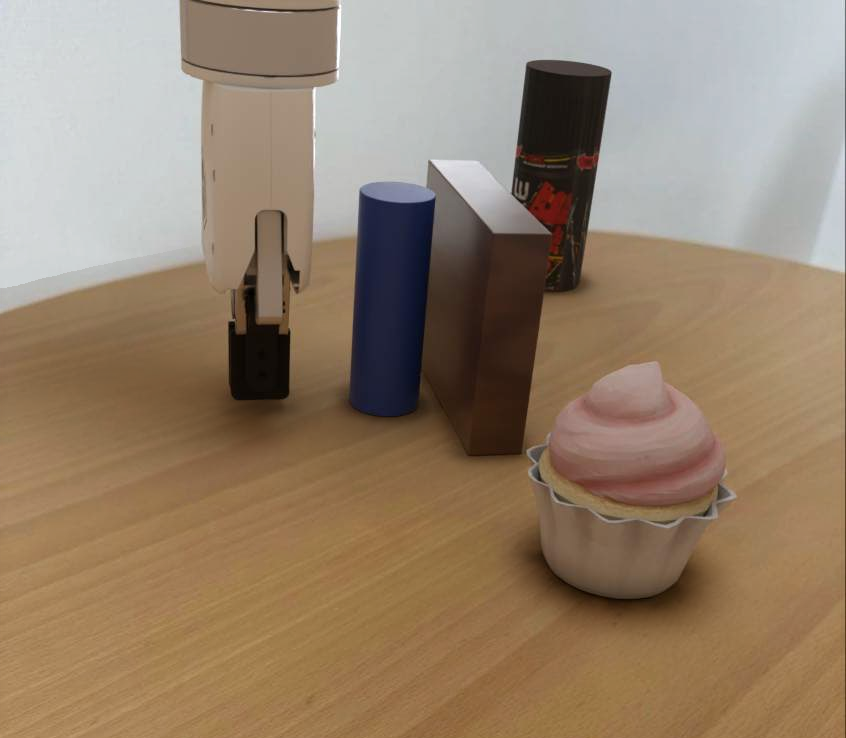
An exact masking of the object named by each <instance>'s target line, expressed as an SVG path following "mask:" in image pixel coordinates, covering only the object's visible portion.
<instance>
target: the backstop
mask: <svg viewBox="0 0 846 738" xmlns="http://www.w3.org/2000/svg"><path fill="white" fill-rule="evenodd" d="M426 173H427V174H426V186H425V188H428V189H430V190H432V191H433V192H434V193H435V194H436V200H435V212H434V224H433V236H432V248H431V260H430V272H429V284H428V295H427V307H426V319H425V331H424V343H423V355H422V367H421V371H423V374H424V376H425V377H426V379H427V381H428V383H429V384H430V386H431V388H432V390H433V392H434V394H435V396H436V397H437V399H438V401H439V403H440V404H441V407H442V408H443V410H444V413H445V414H446V415H447V417H448V419H449V421H450V423H451V425H452V426H453V428H454V431H455V432H456V434H457V436H458V438H459V440H460V441H461V443H462V445H463V447H464V449H465V450H466V453H467V454H468V456H478V455H479V456H486V455H487V456H488V455H513V454H514V455H515V454H518V455H519V454H522V453H523V449H524V448H523V447H524V439H525V433H526V427H527V417H528V412H529V411H528V410H529V404H530V397H531V389H532V381H533V376H534V370H535V369H534V368H535V361H536V354H537V346H538V340H539V334H540V333H539V332H540V327H541V317H542V310H543V303H544V298H545V297H544V296H545V291H544V290H545V283H546V276H547V268H548V261H549V254H550V247H551V240H552V234H551V233H550V232H549V231H548V230H547V229H546V228H545V227H544V226H543V225H542V224H541V223H540V222H539V221H538V220H537V219H536V218H535V217H534V216H533V215H532V214H531V213H530V212H529V211H528V210H527V209H526V208H525V207H524V206H523V205H522V204H521V203H520V202H519V201H518V200H517V199H516V198H515V197H514V196H513V195H512V194H511V192H510V191H509V190H508V189H507V188H506V187H505V186H504V185H503V184H502V183H501V182H500V181H499V180H498V179H497V178H496V177H495V176H494V175H493V174H492V173H491V172H489V170H488V169H487V168H485V166H484V165H483V164H482V163H480V161H478V160H466V159H465V160H463V159H428V161H427V172H426Z"/></svg>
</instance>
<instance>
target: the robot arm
mask: <svg viewBox="0 0 846 738" xmlns="http://www.w3.org/2000/svg"><path fill="white" fill-rule="evenodd" d="M178 1H179V2H178V4H179V32H180V34H179V35H180V36H179V37H180V69H181V71H182V72H183V74H185V75H189V76H190V77H191V78H194V79H198V80H201V81H202V86H201V87H202V88H201V109H200V110H201V114H200V115H201V118H200V151H201V152H200V164H201V166H200V167H201V169H200V170H201V174H200V175H201V246H202V252H203V253H202V254H203V258H204V265H205V269H206V272H207V277H208V282H209V285H210V287H211V288H212V289H213V290H214V291H215V292H216V293H218V294H220V295H225V294H226V290H230V307H231V308H230V310H231V318H232V321H231V320H228V321H227V328H228V329H227V334H228V335H227V336H228V337H227V339H228V340H227V341H228V342H227V343H228V349H227V351H228V356H227V357H228V386H229V389H230V395H231V398H232V399H233V400H235V401H274V400H275V401H276V400H278V401H279V400H285V399H287V398H288V397H289V396H290V379H291V378H290V377H291V375H290V373H291V332H292V331H291V330H290V326H289V325H290V324H289V323H290V301H291V300H290V299H291V285H292V289H293V290H294V292H295V294H297V295H298V294H301V293H302V292H304V290H305V289H306V288H308V286H309V284H310V281H311V280H310V278H311V269H312V255H313V237H314V211H315V178H316V177H315V175H316V173H315V170H316V136H317V131H316V88H321V87H326V86H330V85H333V84H336V82H338V81H339V73H340V72H339V71H340V67H339V65H340V47H341V46H340V44H341V42H340V41H341V21H342V20H341V19H342V17H341V16H342V4H341V3H342V0H178Z"/></svg>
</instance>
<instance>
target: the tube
mask: <svg viewBox="0 0 846 738" xmlns="http://www.w3.org/2000/svg"><path fill="white" fill-rule="evenodd" d="M435 200H436V194H435V193H434V192H433V191H432V190H430V189H428V188H426V186H422V185H418V184H415V183H408V182H400V181H375V182H369V183H365V184H363V185H362V186H360V188H359V190H358V211H357V228H356V229H357V230H356V231H357V232H356V251H355V272H354V288H353V289H354V293H353V312H352V328H351V329H352V330H351V331H352V333H351V351H350V353H351V354H350V372H349V373H350V374H349V392H348V401H349V404H350V405H351V407H353V408H354V409H356V410H357V411H360V413H361V412H362V413H364V414H367V415H372V416H378V417H400V416H405V415H408V414H410V413H412V412H414V411H415V410H416V409H417V408H418V406H419V401H420V390H421V389H420V388H421V377H422V368H421V367H422V355H423V343H424V331H425V319H426V307H427V295H428V284H429V272H430V260H431V248H432V236H433V224H434V212H435Z"/></svg>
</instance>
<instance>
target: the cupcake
mask: <svg viewBox="0 0 846 738" xmlns="http://www.w3.org/2000/svg"><path fill="white" fill-rule="evenodd" d="M709 425H710V424H709V423H708V420H707V419H706V417H705V415H704V413H703V411H702V409H701V408H699V406H698V405H697V404H696V403H695V402H694V401H693V400H692V399H691V398H690V397H688V396H687V395H685V394H684V393H683V392H681V391H679V390H677V389H676V388H675V387H673V386H672V385H671V384H669V383H667V382H666V381H664V376H663V373H662V369H661V366H660V364H659V361H658V360H657V361H655V360H654V361H649V362H643V363H639V364H632V363H631V364H628V365H626V366H624V367H621V368H619V369H617V370H615V371H613V372H610V373H608V374H606V375H605V376H603V377H601V378H599V379H598V380H597V381H595V382H594V383H593V384H592V386H591V387H590V389H589V391H587V393H585V394H583V395H581V396H579V397H577V398H575V399H574V400H572V401H570V402H569V403H567V404H566V405H565V406H564V407H563V408H562V409H561V411H560V412H559V413H558V414H557V416H556V418H555V420H554V423H553V426H552V429H551V431H550V432H549V433H548V434H547V435H546V439H545V440H546V441H545V444H540V445H534V446H532V447H530V448H528V449H526V456H527V459H528V462H529V465H530V467H529V468H528V469H527V472H528V477H529V482H530V484H531V488H532V491H533V494H534V497H535V500H536V503H537V507H538V523H539V533H540V543H541V544H540V545H541V551H542V553H543V556H544V558H545V560H546V563H547V565H548V567H549V568H550V570H551V571H552V572H553V574H554V575H556V576H557V577H558V578H560V580H563V581H564V582H565V583H567V584H569V585H571V586H572V587H574V588H576V589H578V590H580V591H583V592H586V593H588V594H589V593H590V594H593V595H596V596H600V597H605V598H610V599H615V600H616V599H618V600H619V599H620V600H635V599H643V598H650V597H653V596H656V595H659V594H661V593H663V592H665V591H667V590H668V589H669V588H671V587H672V586H673V585H675V583H677V582H678V580H679V578H680V576H682V573H683V571H684V570H685V568H686V565H687V563H688V561H689V560H690V558H691V556H692V554H693V552H694V551H695V549H696V547H697V546H698V544H699V542H700V540H701V539H702V537H703V535H704V534H705V532H706V530H707V529H708V528H709V527H710V526H711V525H712V524H713V523H714V522H715V521H716V520H717V518H718V517H719V516H720V515H721V514H722V513H723V512H724V511H725V510H726V509H727V507H729V506H730V505H731V504H732V503H733V502H734V500H736V499H737V498H738V496H737V494H736V493H735V491H733V490H732V489H731V488H730V487H728V486H727V485H726V484H725V483H723V482H724V480H725V479H726V477H727V475H728V470H729V469H727V468H726V464H727V463H726V461H727V459H726V451H725V447H724V445H723V443H722V441H721V439H720V438H719V436H718V435H717V433H716V432H715V431H714V430H713V429H712V428H711V427H710V426H709Z"/></svg>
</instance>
